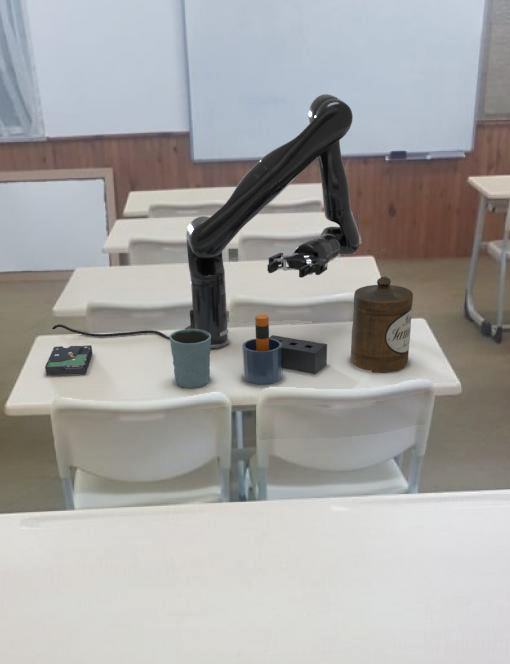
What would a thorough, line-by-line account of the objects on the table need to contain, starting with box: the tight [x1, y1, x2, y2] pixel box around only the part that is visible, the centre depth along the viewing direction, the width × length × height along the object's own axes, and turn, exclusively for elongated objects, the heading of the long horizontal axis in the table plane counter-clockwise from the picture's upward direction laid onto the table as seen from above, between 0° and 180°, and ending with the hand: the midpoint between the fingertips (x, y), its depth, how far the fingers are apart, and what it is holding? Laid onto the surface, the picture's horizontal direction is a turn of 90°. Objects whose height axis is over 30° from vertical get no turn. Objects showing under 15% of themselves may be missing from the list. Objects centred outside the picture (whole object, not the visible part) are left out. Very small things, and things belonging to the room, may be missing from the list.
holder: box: [269, 334, 328, 375], centre depth 218 cm, size 16×7×6 cm, turn 61°
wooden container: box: [350, 276, 414, 373], centre depth 214 cm, size 15×15×22 cm
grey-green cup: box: [169, 328, 211, 389], centre depth 209 cm, size 10×10×12 cm
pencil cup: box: [241, 338, 283, 386], centre depth 210 cm, size 10×10×9 cm
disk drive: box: [44, 344, 93, 377], centre depth 223 cm, size 10×3×15 cm
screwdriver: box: [254, 314, 270, 351], centre depth 208 cm, size 3×3×16 cm
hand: (284, 271), depth 206 cm, fingers open, 8 cm apart
